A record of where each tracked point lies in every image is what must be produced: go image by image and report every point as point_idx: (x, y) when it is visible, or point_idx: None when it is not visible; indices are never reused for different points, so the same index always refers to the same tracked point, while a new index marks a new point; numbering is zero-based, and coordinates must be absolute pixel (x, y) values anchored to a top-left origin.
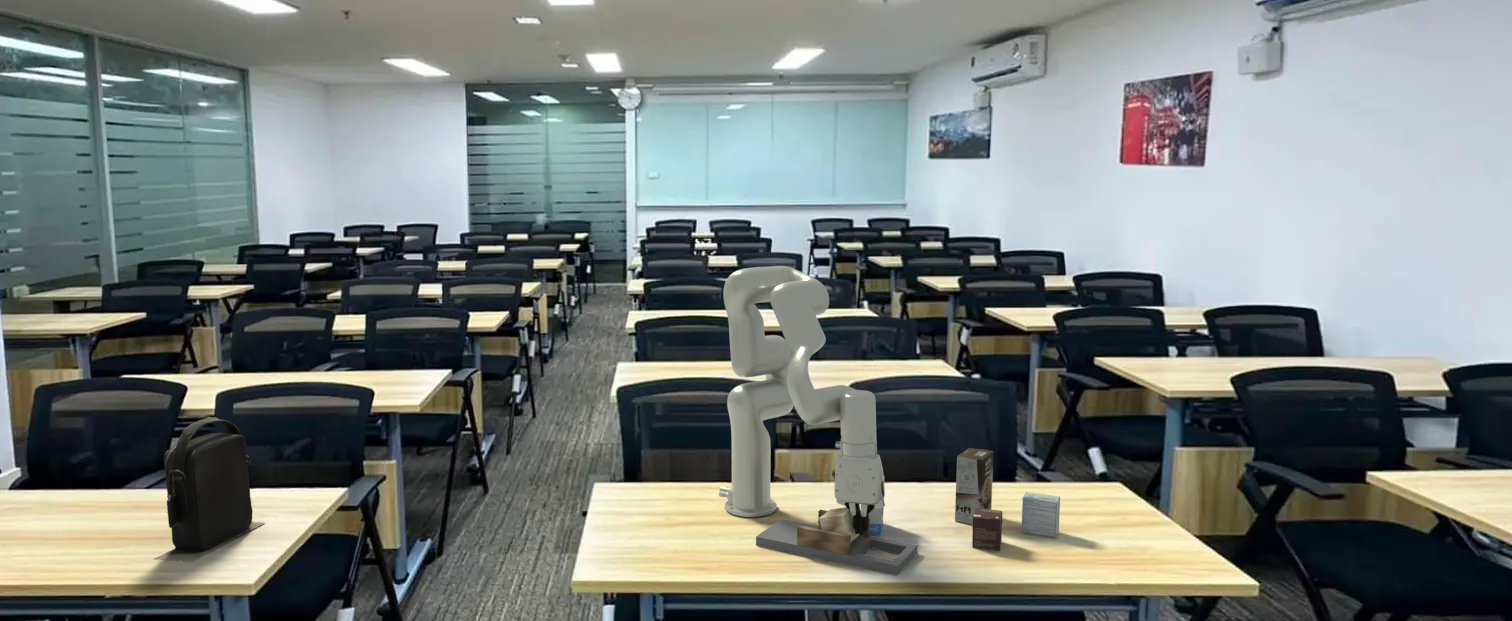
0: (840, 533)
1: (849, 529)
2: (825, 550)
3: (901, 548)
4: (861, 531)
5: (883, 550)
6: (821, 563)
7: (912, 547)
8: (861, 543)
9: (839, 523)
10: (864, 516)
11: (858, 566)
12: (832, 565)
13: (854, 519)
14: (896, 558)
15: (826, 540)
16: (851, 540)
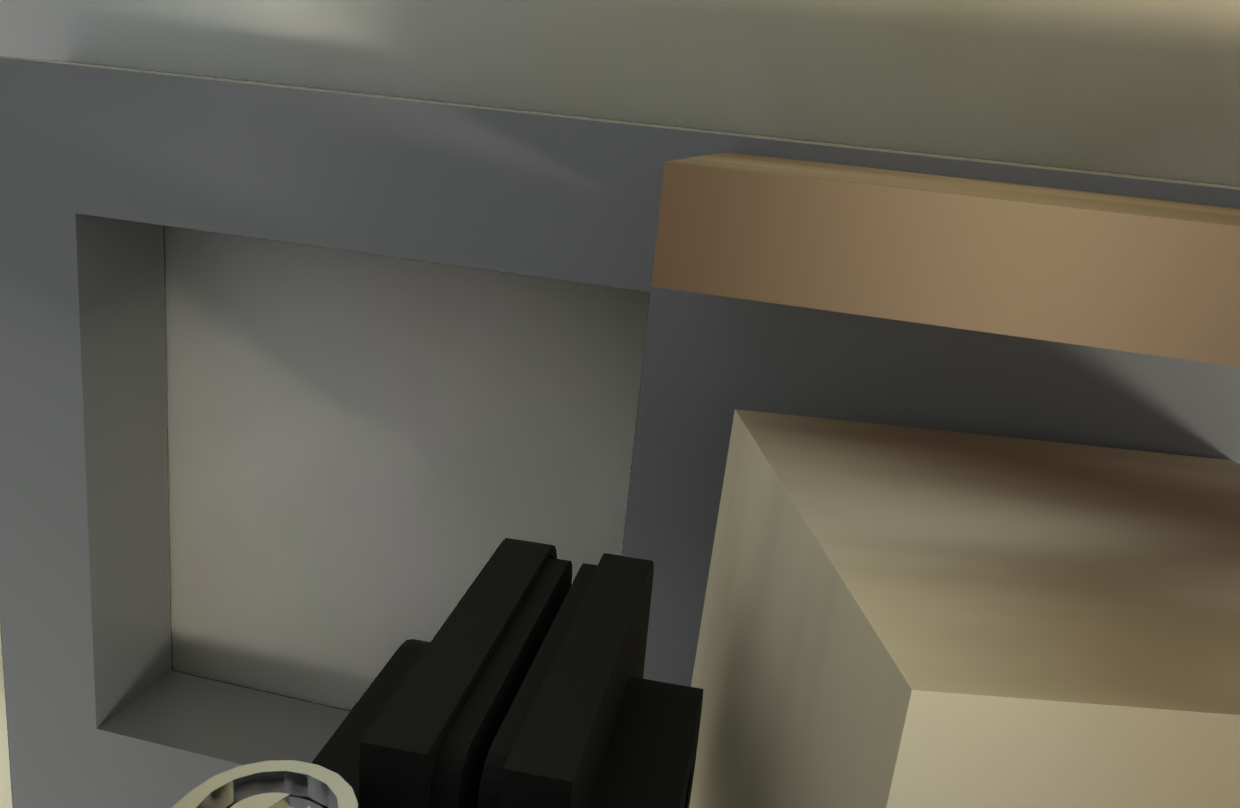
0: (917, 306)
1: (766, 589)
2: (1190, 203)
3: (186, 724)
4: (496, 561)
5: None
6: (1180, 15)
7: (31, 716)
8: (660, 680)
9: (1019, 584)
10: (271, 767)
11: (584, 117)
12: (976, 12)
13: (639, 803)
14: (68, 304)
15: (1235, 217)
16: (730, 464)
